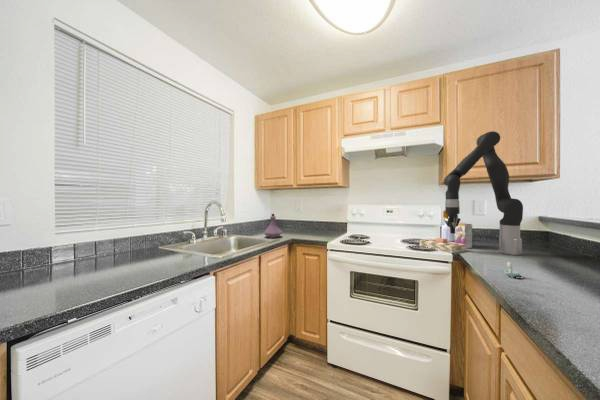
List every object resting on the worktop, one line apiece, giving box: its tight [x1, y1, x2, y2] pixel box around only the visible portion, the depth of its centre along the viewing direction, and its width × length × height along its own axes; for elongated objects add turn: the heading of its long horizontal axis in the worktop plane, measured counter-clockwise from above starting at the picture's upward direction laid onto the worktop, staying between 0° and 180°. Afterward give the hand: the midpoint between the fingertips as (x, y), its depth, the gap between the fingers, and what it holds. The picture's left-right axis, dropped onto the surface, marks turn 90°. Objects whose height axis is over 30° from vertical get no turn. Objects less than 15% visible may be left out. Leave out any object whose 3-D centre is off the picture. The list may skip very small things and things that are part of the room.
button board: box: [419, 238, 467, 254], centre depth 151 cm, size 22×14×4 cm, turn 24°
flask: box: [263, 213, 283, 239], centre depth 194 cm, size 16×16×20 cm
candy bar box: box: [454, 221, 473, 249], centre depth 155 cm, size 11×5×16 cm, turn 179°
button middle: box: [435, 237, 447, 243], centre depth 151 cm, size 5×5×3 cm
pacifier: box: [503, 261, 524, 279], centre depth 97 cm, size 7×6×6 cm
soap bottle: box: [440, 209, 455, 242], centre depth 178 cm, size 9×9×25 cm
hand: (452, 233), depth 144 cm, fingers closed
